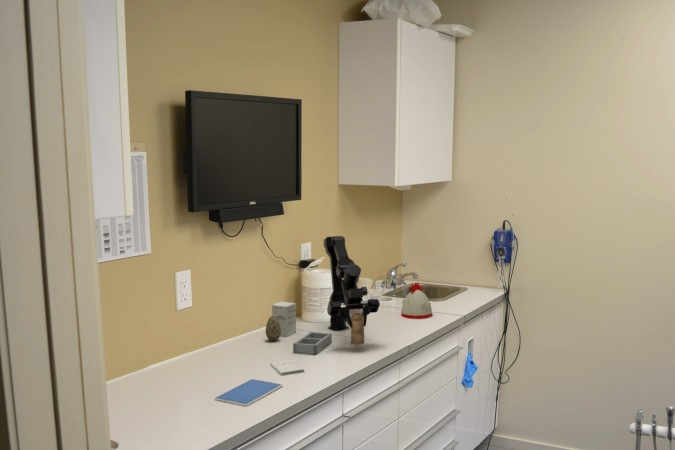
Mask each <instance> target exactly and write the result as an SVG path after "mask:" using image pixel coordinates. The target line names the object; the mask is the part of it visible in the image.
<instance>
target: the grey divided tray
mask: <svg viewBox="0 0 675 450" xmlns="http://www.w3.org/2000/svg"><path fill="white" fill-rule="evenodd" d="M332 335H333V334H332V333H328V332H316V331H315V332H313V331H310V332H308V333H306V334H304V335H303V336H302V337H301V338H299V339H298V340H297V341H295V342H293V343H292V348H293V349H292V350H293V354H302V355H303V354H304V355H310V356H311V355H313V356H316V355H318V354H319V353H321V352H322V351H323V350H324V349H326V347H328V346H329V345H331V344H332V343H333V339H332Z"/></svg>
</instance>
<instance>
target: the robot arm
mask: <svg viewBox="0 0 675 450" xmlns="http://www.w3.org/2000/svg"><path fill="white" fill-rule="evenodd" d="M323 248H324V249H325V250H324V251H325V253H326V254H327V256H328V257H329V262H330V263H329V264H330V265H329V266H330V273H331V274H330V275H331V286H332V287H331V288H332V292H331V294H330V297H329V301H328V302H327V303H328V304H327V308H326V310H327V315H329V317H330V321H329V322H330V323H329V324H330V326H328V327H327V329H329V330H333V329H334V331H338V330H340V331H343V330H345V329H349V328H350V329H351V328H352V322H351V318H350V315H349V313H350V310H354V309H362V310H363V311H362V315H363V317H364V328H366V326H367V319H368V315H370V314H372V313H377V312H378V311H379V308H380V305H381V303H380V300H379V299H377V298H371V299H368V300H367V302H365V303H364V302H363V303H361V301H362V300H363V301H364V299H363V298H364V297H366V296H368V293H369V291H368V288H367V286H361V287H358V283H359V279H360V277H361V272H362V270H361V267H360V266H359V265H357V264H356V263H355V262H354V260H353V259H351V258H350V257H349V255H348V251H347V247H346V238H345V236H342V235H336V236H332V235H331V236H326V237H325V238H324V239H323ZM347 325H348V326H347Z"/></svg>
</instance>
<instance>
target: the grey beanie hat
mask: <svg viewBox="0 0 675 450" xmlns="http://www.w3.org/2000/svg"><path fill="white" fill-rule="evenodd" d="M423 288H424V287H423V286H422V284H419V282H414V283H411V286H410V287H409V291H410V292H409V293H408V294H407V295H406V296H405V298H404V299H402V305H401V311H400V313H401V314H400V315H401V317H402V318H406V319H411V320H423V319H424V320H425V319H429V318H432V317H433V309H432V306H431V301H430V300H429V298H428V296H427V295H426V293H424V292H423Z"/></svg>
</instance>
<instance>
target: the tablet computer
mask: <svg viewBox="0 0 675 450" xmlns="http://www.w3.org/2000/svg"><path fill="white" fill-rule="evenodd" d="M281 388H283V384H281V383H277V382H276V383H275V382H270V381H264V380H259V379H254V378H253V379H252V378H251V379H249V380H246V381H245V382H243V383H241V384H240V385H238V386H236V387H234V388H232V389H230V390H228V391H225V392H223V393H221V394H220V395H218V396H216V397H215V398H213V399H214V401H216V402H221V403H226V404H230V405H235V406H239V407H240V406H241V407H244V408H245V407H246V408H248V407H250V406H251V405H253V404H254V403H256V402H258V401H259V400H262V399H263V398H265V397H267V396H268V395H270V394H272V393H273V392H275V391H277V390H279V389H281Z"/></svg>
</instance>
